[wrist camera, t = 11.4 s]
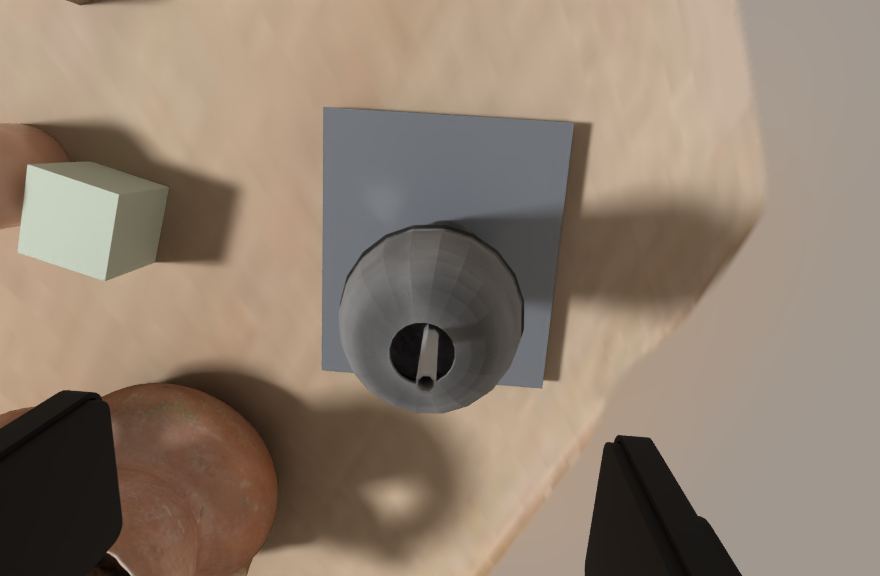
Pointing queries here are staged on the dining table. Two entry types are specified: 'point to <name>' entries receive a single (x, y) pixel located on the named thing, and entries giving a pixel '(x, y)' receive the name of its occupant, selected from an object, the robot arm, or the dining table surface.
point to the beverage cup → (431, 317)
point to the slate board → (446, 203)
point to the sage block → (91, 218)
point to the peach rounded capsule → (21, 165)
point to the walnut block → (80, 1)
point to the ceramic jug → (185, 484)
